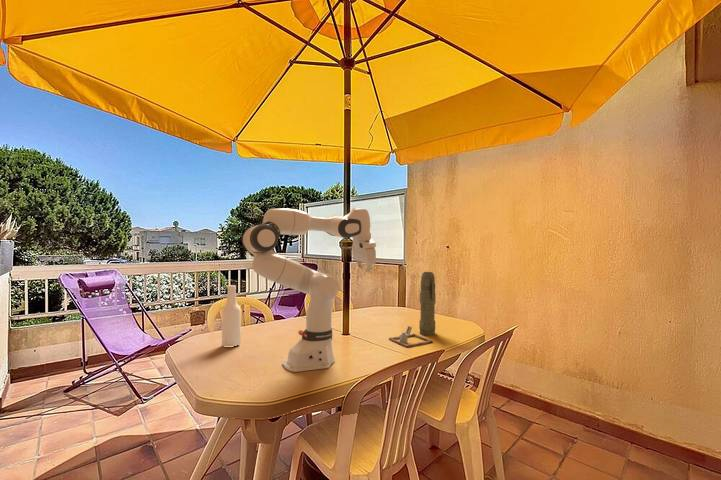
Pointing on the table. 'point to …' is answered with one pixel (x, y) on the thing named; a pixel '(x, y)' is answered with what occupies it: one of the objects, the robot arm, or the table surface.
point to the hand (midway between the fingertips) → (364, 270)
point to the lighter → (405, 335)
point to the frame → (426, 341)
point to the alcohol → (231, 319)
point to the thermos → (427, 304)
